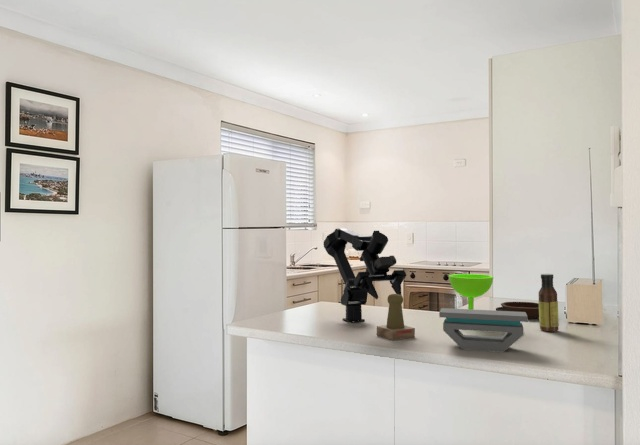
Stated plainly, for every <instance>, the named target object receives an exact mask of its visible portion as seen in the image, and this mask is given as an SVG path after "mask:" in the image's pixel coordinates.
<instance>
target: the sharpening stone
mask: <svg viewBox="0 0 640 445" xmlns="http://www.w3.org/2000/svg"><path fill="white" fill-rule="evenodd" d="M439 318H444V320H443V323H442V326H443V328H442V330H443V332H444V333H445V334H446V335H447V336H448V337H449V338H450V339H451V340H452V341H453V342H454V343H455V344H456V345H457V346H458V347H459V348H460V349H461V350H465V351H477V352H478V351H481V352H492V351H495V352H494V353H504V352H505V351H506V350H508V349H509V348H510V347H512V346H513V344H515V343H516V341H518V340H519V339H521V338H522V337H524V325H523V323H522V322H525V323H526V322H527V323H528V320H529V319H528V316H527V314H526V312H515V311H496V310H490V309H474V310H471V309H468V308H465V309H464V308H451V307H450V308H447V307H446V308H445V307H441V308H440V310H439ZM462 330H463V331H477V332H494V333H495V332H496V333H505V334H503V335H502V336H491V335H490V336H488V335H474V334H463V332H462Z"/></svg>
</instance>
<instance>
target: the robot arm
mask: <svg viewBox="0 0 640 445" xmlns="http://www.w3.org/2000/svg"><path fill="white" fill-rule="evenodd" d="M388 242H389V238H388V236H387V235H385V233H382V232H381V231H380V230H373V231H372V234H359V233H357V232H354V231H353V230H350V229H348V228H346V227H337V228H335V229H334V231H333V232H331V233H330V234H328V235H327V236H326V237H325V239H324V241H323V247H324V248H323V249H324V250H325V251H326V253H327V255H329V256H331V257H332V258H333V260H334V262H335V264H336V266H337V269H338V272H339V274H340V276H341V278H342V280H343V283H344V287H343V294H342V296H341V298H340V304H341V305H342V306H345V317H342V320H343V321H345V322H348V323H357V322H365V320H366V319H364V318H362V314H363V312H362V311H363V310H362V305H366V304H367V300H368V294H369V295H370V296H371V297H373V298H374V299H375V300H378V298H379V296H378V292H377V290H376V288H375V286H374V284H373V283H374V282H389V284H390V285H391V288H392V290H393V291H394V294H399V295H402V284H403V282H404V281H405V279H406V277H407V272H406V271H405V270H404V269H395V270H393V271H392V273H391V274H388V273H389V271H390V268H391V267H394V266H395V265H396V264H397V259H396V257H395V255H389V256H379V255H380V254H382V252H383V251H384V250H385V248H386V246H387V245H388ZM348 243H349V244H351V247H352V248H353V249H354V250H355V251H356V252H361V254H360V258H359V261H360V262H364V266H365V267H366V269H365V271H358V272H357V274H355V273H354V271H353V269H352V268H353V267H352V266H351V264H350V262H349V260H348V257H347V255H346V253H345V252H346V251H345V250H346V247H347V244H348Z"/></svg>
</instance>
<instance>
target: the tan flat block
mask: <svg viewBox="0 0 640 445" xmlns="http://www.w3.org/2000/svg"><path fill="white" fill-rule="evenodd" d="M386 325H387V324H384V325H377V326H376V335H377V336H378V337H381V338H382V337H383V338H384V339H389V340H392V341H397V340H404V339H411V338H415V337H416V334H415V333H416V332H415V330H416V329H415V327H412V326H408V325H406V324H404V328H402V329H391V328H387V327H386Z"/></svg>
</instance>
